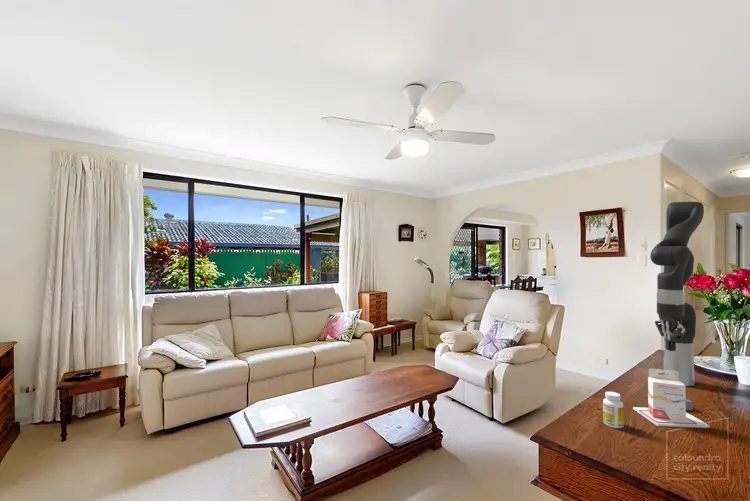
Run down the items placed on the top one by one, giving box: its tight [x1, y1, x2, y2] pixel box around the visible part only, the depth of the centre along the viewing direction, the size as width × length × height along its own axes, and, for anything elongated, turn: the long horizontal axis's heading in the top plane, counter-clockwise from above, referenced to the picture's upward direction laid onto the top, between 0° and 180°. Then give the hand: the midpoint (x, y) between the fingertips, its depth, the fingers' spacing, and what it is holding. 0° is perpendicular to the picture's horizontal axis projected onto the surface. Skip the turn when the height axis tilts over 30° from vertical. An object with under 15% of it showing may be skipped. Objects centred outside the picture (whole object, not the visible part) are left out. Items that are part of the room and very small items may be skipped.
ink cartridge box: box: [647, 368, 687, 422], centre depth 113 cm, size 9×5×15 cm, turn 67°
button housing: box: [686, 398, 694, 411], centre depth 123 cm, size 7×7×3 cm
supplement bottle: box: [602, 391, 625, 429], centre depth 110 cm, size 5×5×10 cm
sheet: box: [632, 406, 711, 429], centre depth 113 cm, size 12×15×1 cm
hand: (670, 350), depth 123 cm, fingers closed
